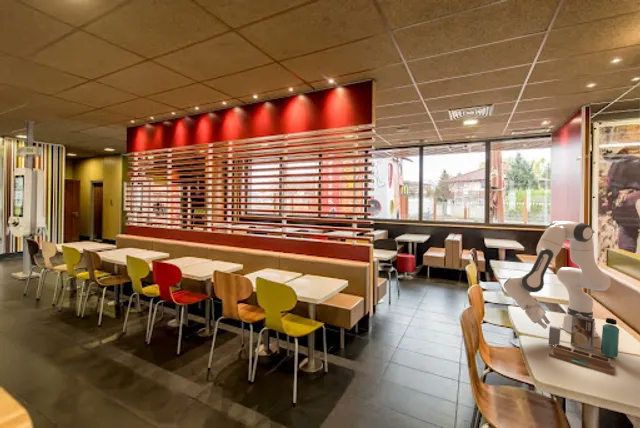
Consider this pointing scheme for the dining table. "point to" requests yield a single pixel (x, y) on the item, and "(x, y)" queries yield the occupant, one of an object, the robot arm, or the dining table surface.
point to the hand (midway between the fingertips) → (547, 325)
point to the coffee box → (582, 332)
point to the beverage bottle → (610, 338)
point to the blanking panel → (554, 335)
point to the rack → (582, 358)
